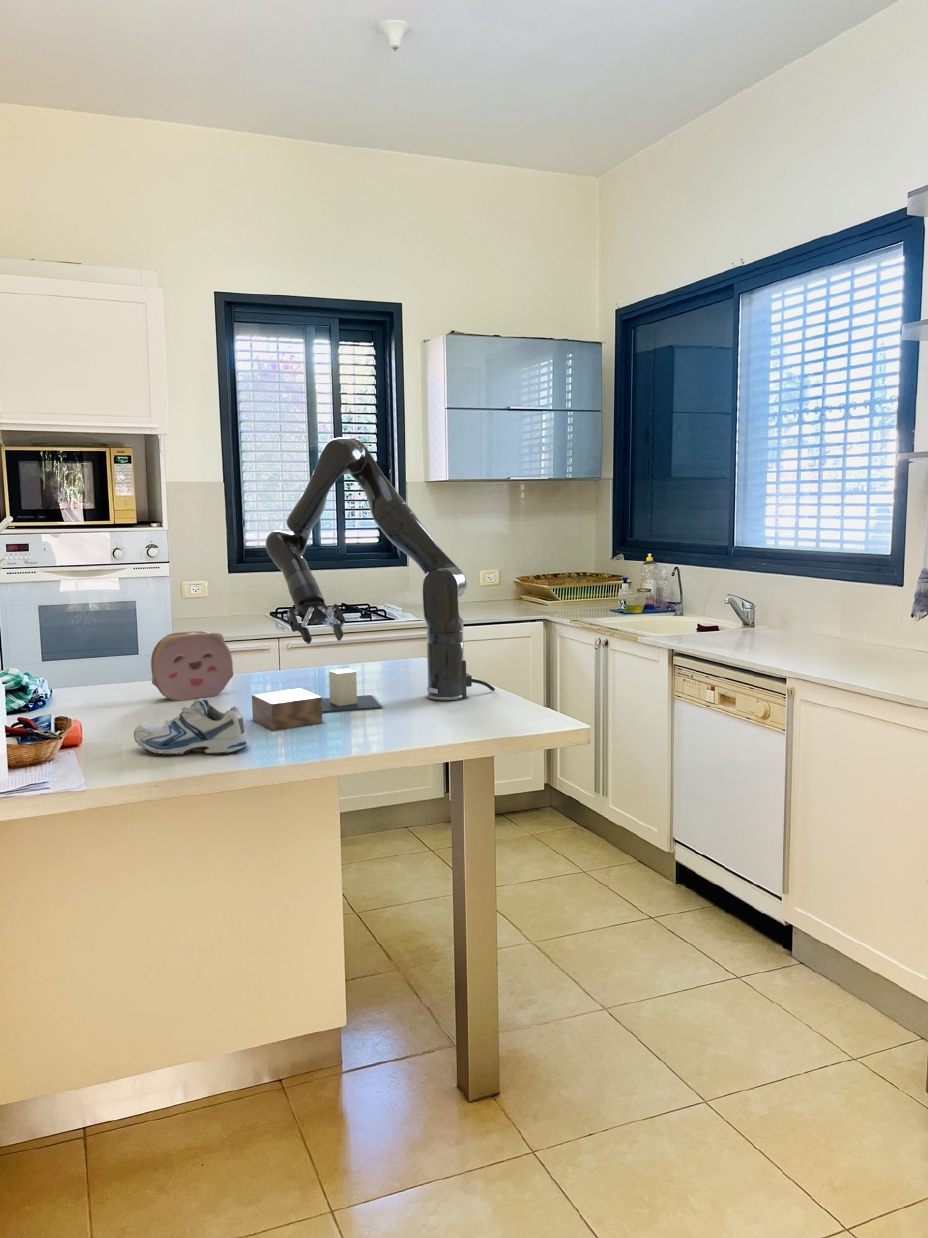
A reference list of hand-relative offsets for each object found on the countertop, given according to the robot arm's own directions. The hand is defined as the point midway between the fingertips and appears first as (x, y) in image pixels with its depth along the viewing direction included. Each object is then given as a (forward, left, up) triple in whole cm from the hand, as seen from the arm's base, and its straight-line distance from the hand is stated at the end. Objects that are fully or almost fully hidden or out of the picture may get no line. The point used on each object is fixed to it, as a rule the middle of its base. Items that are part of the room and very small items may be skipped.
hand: (325, 640), depth 236 cm
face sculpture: (+33, -13, -15) cm, 38 cm away
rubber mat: (-3, +9, -15) cm, 18 cm away
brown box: (+12, +22, -15) cm, 29 cm away
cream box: (-3, +9, -14) cm, 17 cm away
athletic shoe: (+33, +40, -15) cm, 54 cm away
